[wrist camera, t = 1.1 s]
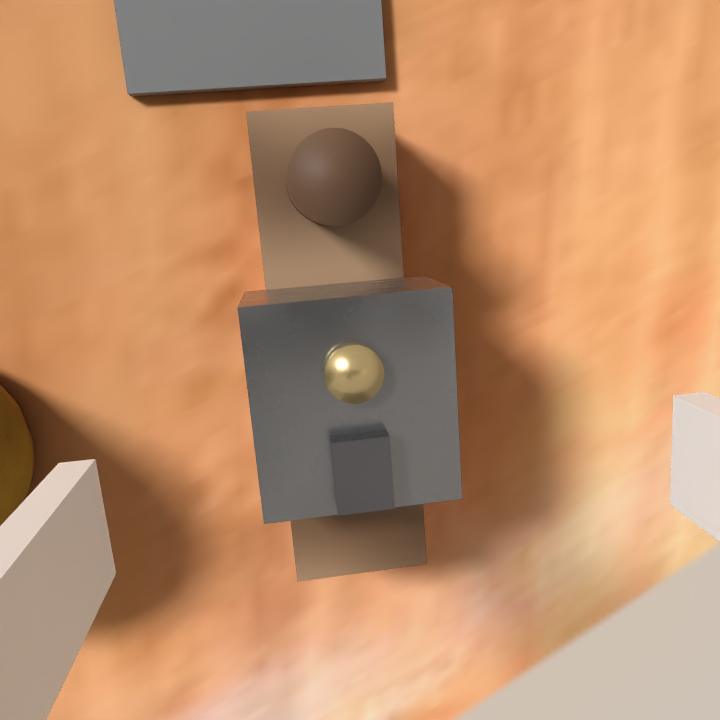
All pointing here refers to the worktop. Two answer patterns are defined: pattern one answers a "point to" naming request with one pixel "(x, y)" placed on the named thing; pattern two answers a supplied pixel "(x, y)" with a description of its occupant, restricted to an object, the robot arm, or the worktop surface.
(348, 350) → the lever cap
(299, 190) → the plane body
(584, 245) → the worktop surface
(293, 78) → the mat
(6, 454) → the mug
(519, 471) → the worktop surface
